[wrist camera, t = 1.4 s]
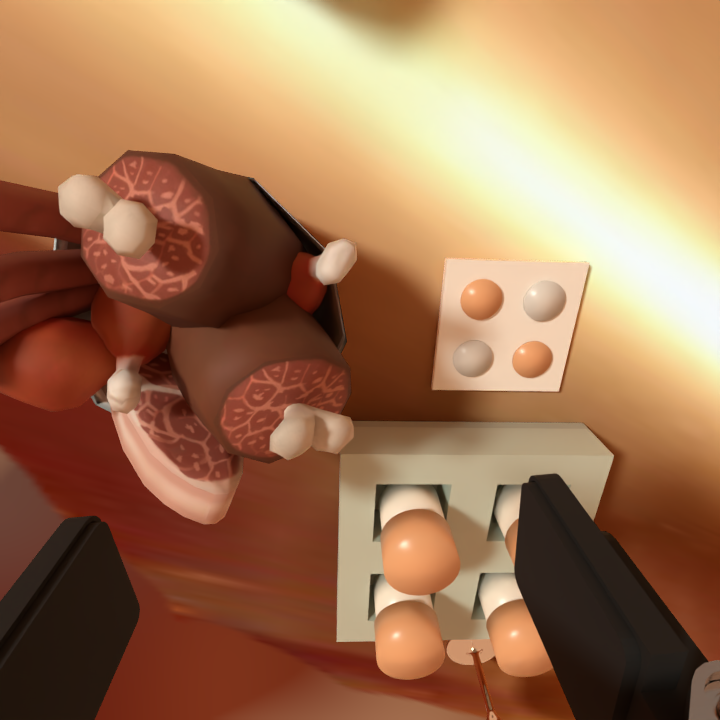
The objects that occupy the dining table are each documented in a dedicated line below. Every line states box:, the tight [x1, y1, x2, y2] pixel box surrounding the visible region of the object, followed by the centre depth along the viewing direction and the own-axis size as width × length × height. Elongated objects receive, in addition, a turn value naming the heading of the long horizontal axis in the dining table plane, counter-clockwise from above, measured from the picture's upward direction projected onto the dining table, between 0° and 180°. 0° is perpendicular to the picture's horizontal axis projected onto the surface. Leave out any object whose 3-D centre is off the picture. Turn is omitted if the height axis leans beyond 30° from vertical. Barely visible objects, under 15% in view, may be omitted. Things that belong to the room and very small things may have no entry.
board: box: [337, 421, 614, 642], centre depth 42 cm, size 22×22×5 cm
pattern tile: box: [431, 258, 590, 391], centre depth 36 cm, size 11×11×1 cm
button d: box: [373, 574, 445, 680], centre depth 39 cm, size 6×6×7 cm
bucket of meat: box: [0, 150, 357, 524], centre depth 24 cm, size 20×16×20 cm
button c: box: [477, 573, 553, 677], centre depth 40 cm, size 6×6×7 cm
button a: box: [492, 485, 522, 565], centre depth 36 cm, size 6×6×7 cm
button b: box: [379, 484, 460, 596], centre depth 35 cm, size 6×6×7 cm
